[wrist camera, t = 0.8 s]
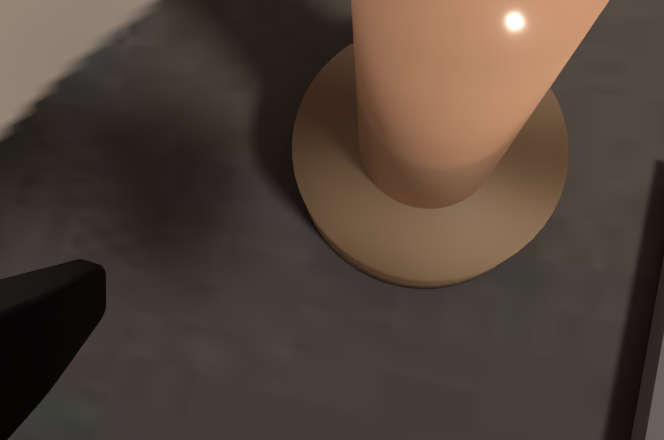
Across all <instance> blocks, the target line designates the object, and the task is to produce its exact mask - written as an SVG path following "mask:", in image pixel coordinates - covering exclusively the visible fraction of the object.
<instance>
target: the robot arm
mask: <svg viewBox="0 0 664 440" xmlns="http://www.w3.org/2000/svg"><path fill="white" fill-rule="evenodd" d="M105 309H106V272H105V269H104V268H103V267H102V266H101V265H99V264H96V263H93V262H90V261H87V260H83V259H78V260H73V261H70V262H66V263H62V264H58V265H54V266H50V267H46V268H43V269H39V270H35V271H31V272H27V273H23V274H19V275H16V276H12V277H8V278H4V279H0V440H7V439H8V438H9V437H10V436H11V435H12V434H13V433H14V432H15V430H16V429H17V428H18V427H19V426H20V425H21V424H22V422H23V421H24V420H25V419H26V418H27V417H28V416H29V415H30V413H31V412H32V411H33V410H34V409H35V408H36V407H37V405H38V404H39V403H40V402H41V401H42V399H43V398H44V397H45V396H46V395H47V394H48V392H49V391H50V390H51V388H52V387H53V386H54V384H55V383H56V382H57V380H58V379H59V378H60V376H61V375H62V373H63V372H64V371H65V369H66V368H67V366H68V365H69V364H70V362H71V361H72V360H73V358H74V357H75V355H76V354H77V353H78V351H79V350H80V348H81V347H82V346H83V344H84V343H85V341H86V340H87V339H88V337H89V336H90V334H91V333H92V332H93V330H94V329H95V327H96V326H97V325H98V323H99V322H100V320H101V319H102V317H103V315H104V312H105Z"/></svg>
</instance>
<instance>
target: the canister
mask: <svg viewBox="0 0 664 440" xmlns="http://www.w3.org/2000/svg"><path fill="white" fill-rule="evenodd" d="M608 1H609V0H351V4H352V23H353V41H354V59H355V78H356V96H357V114H358V133H359V151H360V156H361V160H362V163H363V166H364V168H365V170H366V173H367V174H368V176H369V177H370V179H371V180H372V182H373V183H374V184H375V185H376V186H377V188H378V189H380V190H381V191H382V192H383V193H384V194H385V195H387V196H388V197H390V198H391V199H393V200H395V201H397V202H399V203H402V204H404V205H407V206H411V207H416V208H423V209H437V208H443V207H448V206H451V205H454V204H457V203H459V202H461V201H463V200H465V199H467V198H468V197H470V196H471V195H473V194H474V193H475V192H476V191H477V190H478V189H479V188H480V187H481V186H482V185H483V184H484V183H485V181H486V180H487V179H488V177H489V176H490V174H491V173H492V171H493V170H494V168H495V167H496V165H497V164H498V162H499V161H500V160H501V158H502V157H503V155H504V154H505V152H506V151H507V149H508V148H509V146H510V145H511V143H512V142H513V140H514V139H515V138H516V136H517V135H518V133H519V132H520V130H521V129H522V127H523V126H524V124H525V123H526V121H527V120H528V119H529V117H530V116H531V114H532V113H533V111H534V110H535V108H536V107H537V105H538V104H539V102H540V101H541V100H542V98H543V97H544V95H545V94H546V92H547V91H548V89H549V88H550V86H551V85H552V83H553V82H554V80H555V79H556V78H557V76H558V75H559V73H560V72H561V70H562V69H563V67H564V66H565V64H566V63H567V61H568V60H569V59H570V57H571V56H572V54H573V53H574V51H575V50H576V48H577V47H578V45H579V44H580V42H581V41H582V40H583V38H584V37H585V35H586V34H587V32H588V31H589V29H590V28H591V26H592V25H593V23H594V22H595V21H596V19H597V18H598V16H599V15H600V13H601V12H602V10H603V9H604V7H605V6H606V4H607V3H608Z"/></svg>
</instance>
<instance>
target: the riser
mask: <svg viewBox="0 0 664 440" xmlns="http://www.w3.org/2000/svg"><path fill="white" fill-rule="evenodd" d="M292 161H293V167H294V174H295V178H296V181H297V185H298V188H299V191H300V193H301V196H302V198H303V200H304V202H305V205H306V207H307V209H308V211H309V213H310V216H311V218H312V220H313V222H314V225H315V226H316V228H317V230H318V231H319V233H320V234H321V236H322V238H323V239H324V240H325V241H326V243H327V244H328V245H329V246H330V247H331V249H332V250H333V251H334V252H335V253H336V254H337V255H338V256H340V257H341V258H342V259H343V260H344V261H345V262H347V263H348V264H349V265H351V266H352V267H354V268H355V269H356V270H358V271H360V272H362V273H364V274H366V275H367V276H369V277H371V278H374V279H376V280H379V281H382V282H384V283H387V284H391V285H395V286H400V287H405V288H415V289H434V288H442V287H448V286H454V285H457V284H460V283H463V282H467V281H470V280H472V279H474V278H476V277H478V276H481V275H483V274H485V273H486V272H488V271H489V270H491V269H492V268H494V267H496V266H497V265H499V264H500V263H502V262H503V261H505V260H506V259H508V258H509V257H511V256H512V255H514V254H515V253H517V252H518V251H519V250H520V249H522V248H523V247H524V246H525V245H526V244H527V243H529V242H530V241H531V240H532V239H533V238H534V237H535V236H536V234H537V233H538V232H539V231H540V230H541V229H542V228H543V227H544V225H545V224H546V222H547V221H548V219H549V218H550V216H551V214H552V213H553V211H554V209H555V207H556V205H557V203H558V201H559V199H560V197H561V194H562V191H563V187H564V184H565V181H566V176H567V169H568V163H569V142H568V135H567V128H566V124H565V121H564V117H563V114H562V110H561V108H560V106H559V104H558V101H557V99H556V97H555V95H554V93H553V92H552V90H551V88H549V89H548V91H547V92H546V94H545V95H544V97H543V98H542V100H541V101H540V102H539V104H538V105H537V107H536V108H535V110H534V111H533V113H532V114H531V116H530V117H529V119H528V120H527V121H526V123H525V124H524V126H523V127H522V129H521V130H520V132H519V133H518V135H517V136H516V138H515V139H514V140H513V142H512V143H511V145H510V146H509V148H508V149H507V151H506V152H505V154H504V155H503V157H502V158H501V160H500V161H499V162H498V164H497V165H496V167H495V168H494V170H493V171H492V173H491V174H490V176H489V177H488V179H487V180H486V181H485V183H484V184H483V185H482V186H481V187H480V188H479V189H478V190H477V191H476V192H475V193H474V194H473V195H471V196H470V197H468V198H467V199H465V200H463V201H461V202H459V203H457V204H454V205H451V206H448V207H443V208H437V209H423V208H416V207H411V206H407V205H404V204H402V203H399V202H397V201H395V200H393V199H391V198H390V197H388V196H387V195H385V194H384V193H383V192H382V191H381V190H380V189H378V188H377V186H376V185H375V184H374V183H373V182H372V180H371V179H370V177H369V176H368V174H367V173H366V170H365V168H364V166H363V163H362V160H361V156H360V151H359V133H358V114H357V96H356V78H355V59H354V42H353V43H352V44H350V45H348V46H347V47H346V48H344V49H343V50H342V51H340V52H339V53H338V54H336V55H335V56H334V57H333V58H332V59H331V60H330V61H329V62H328V63H327V64H326V65H325V66H324V67H323V68H322V69H321V71H320V72H319V73H318V74H317V76H316V77H315V78H314V80H313V81H312V83H311V84H310V86H309V88H308V89H307V91H306V93H305V95H304V97H303V99H302V102H301V104H300V106H299V109H298V112H297V116H296V120H295V123H294V129H293V137H292Z"/></svg>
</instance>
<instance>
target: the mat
mask: <svg viewBox="0 0 664 440" xmlns="http://www.w3.org/2000/svg"><path fill="white" fill-rule="evenodd" d="M631 440H664V257H663V263H662V268H661V274H660V279H659V285H658V291H657V296H656V302H655V307H654V313H653V319H652V324H651V330H650V335H649V341H648V346H647V352H646V358H645V363H644V369H643V374H642V380H641V385H640V391H639V397H638V402H637V408H636V413H635V419H634V425H633V430H632V436H631Z"/></svg>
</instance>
